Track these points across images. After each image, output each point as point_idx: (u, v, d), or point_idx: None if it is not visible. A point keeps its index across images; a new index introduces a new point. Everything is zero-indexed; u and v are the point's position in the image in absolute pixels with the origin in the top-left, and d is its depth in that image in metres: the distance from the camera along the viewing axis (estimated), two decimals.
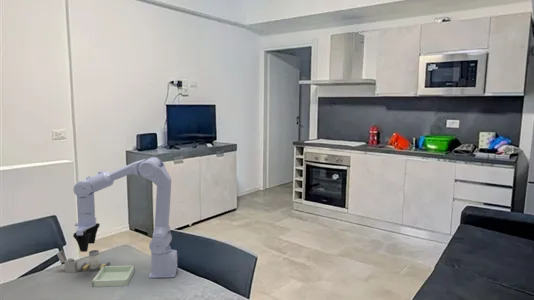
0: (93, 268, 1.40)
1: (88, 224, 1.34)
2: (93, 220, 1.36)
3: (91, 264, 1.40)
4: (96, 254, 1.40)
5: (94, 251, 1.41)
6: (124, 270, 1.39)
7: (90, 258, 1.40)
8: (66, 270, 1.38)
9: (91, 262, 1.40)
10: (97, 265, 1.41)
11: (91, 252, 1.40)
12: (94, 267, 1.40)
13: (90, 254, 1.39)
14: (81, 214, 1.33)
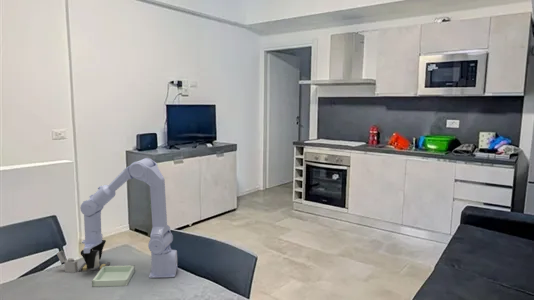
0: (93, 268, 1.40)
1: (95, 242, 1.38)
2: (99, 238, 1.40)
3: None
4: (96, 254, 1.40)
5: None
6: (124, 270, 1.39)
7: None
8: (66, 270, 1.38)
9: None
10: (97, 265, 1.41)
11: None
12: (94, 267, 1.40)
13: None
14: (88, 232, 1.37)
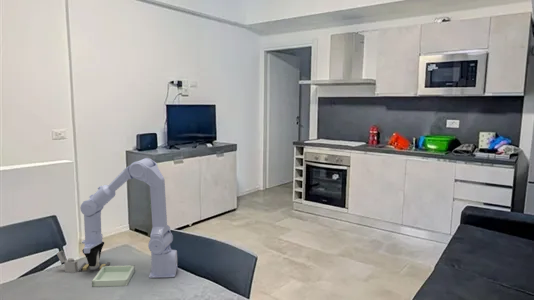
0: (93, 268, 1.40)
1: (95, 242, 1.38)
2: (99, 238, 1.40)
3: None
4: None
5: None
6: (124, 270, 1.39)
7: None
8: (66, 270, 1.38)
9: None
10: (97, 265, 1.41)
11: None
12: (94, 267, 1.40)
13: None
14: (88, 232, 1.37)
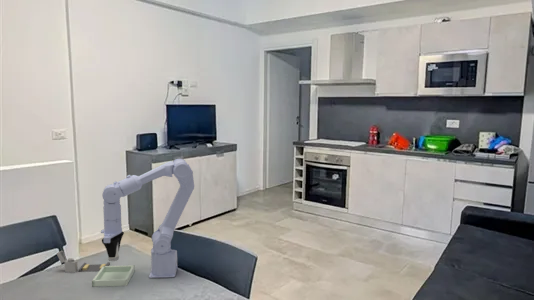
0: (112, 259, 1.31)
1: (115, 231, 1.29)
2: (120, 227, 1.31)
3: None
4: None
5: None
6: (124, 270, 1.39)
7: None
8: (66, 270, 1.38)
9: None
10: (116, 256, 1.32)
11: None
12: (113, 258, 1.31)
13: None
14: (108, 221, 1.28)
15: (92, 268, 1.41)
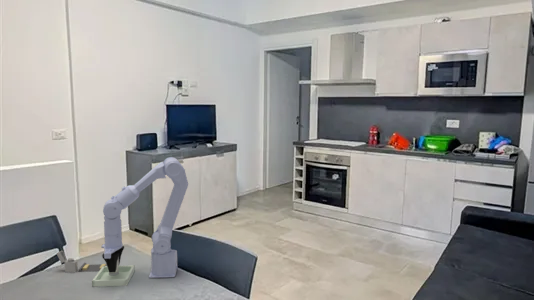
0: (112, 274, 1.32)
1: (115, 246, 1.30)
2: (120, 242, 1.32)
3: None
4: None
5: None
6: (124, 270, 1.39)
7: None
8: (66, 270, 1.38)
9: None
10: (117, 271, 1.33)
11: None
12: (113, 273, 1.32)
13: None
14: (108, 236, 1.29)
15: (92, 268, 1.41)
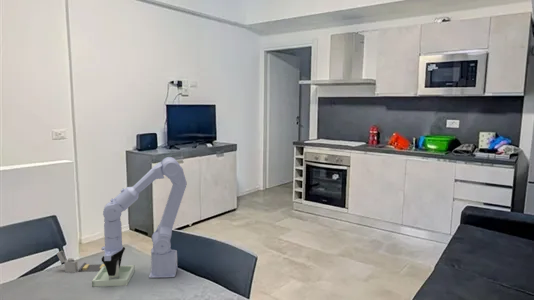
0: (113, 278, 1.32)
1: (115, 248, 1.30)
2: (120, 244, 1.32)
3: None
4: None
5: None
6: (124, 270, 1.39)
7: None
8: (66, 270, 1.38)
9: None
10: (117, 275, 1.33)
11: None
12: (113, 277, 1.32)
13: None
14: (108, 238, 1.29)
15: (92, 268, 1.41)
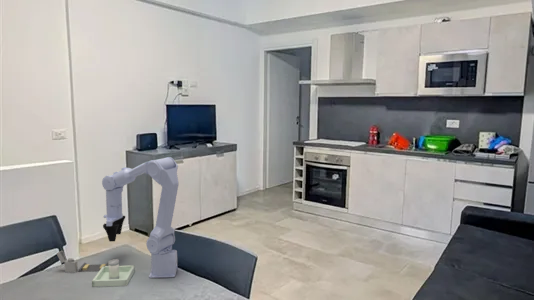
0: (113, 278, 1.32)
1: (116, 216, 1.44)
2: (120, 212, 1.46)
3: (111, 274, 1.32)
4: (116, 264, 1.32)
5: (114, 260, 1.33)
6: (124, 270, 1.39)
7: (110, 268, 1.32)
8: (66, 270, 1.38)
9: (111, 272, 1.32)
10: (117, 275, 1.33)
11: (111, 261, 1.32)
12: (114, 277, 1.32)
13: (110, 264, 1.32)
14: (110, 206, 1.43)
15: (92, 268, 1.41)
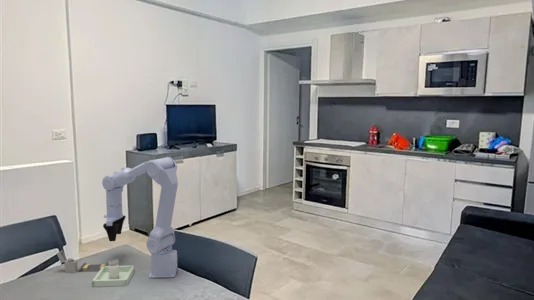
0: (113, 278, 1.32)
1: (116, 216, 1.45)
2: (121, 212, 1.46)
3: (111, 274, 1.32)
4: (116, 264, 1.32)
5: (114, 260, 1.33)
6: (124, 270, 1.39)
7: (110, 268, 1.32)
8: (66, 270, 1.38)
9: (111, 272, 1.32)
10: (117, 275, 1.33)
11: (111, 261, 1.32)
12: (114, 277, 1.32)
13: (110, 263, 1.32)
14: (110, 206, 1.43)
15: (92, 268, 1.41)
